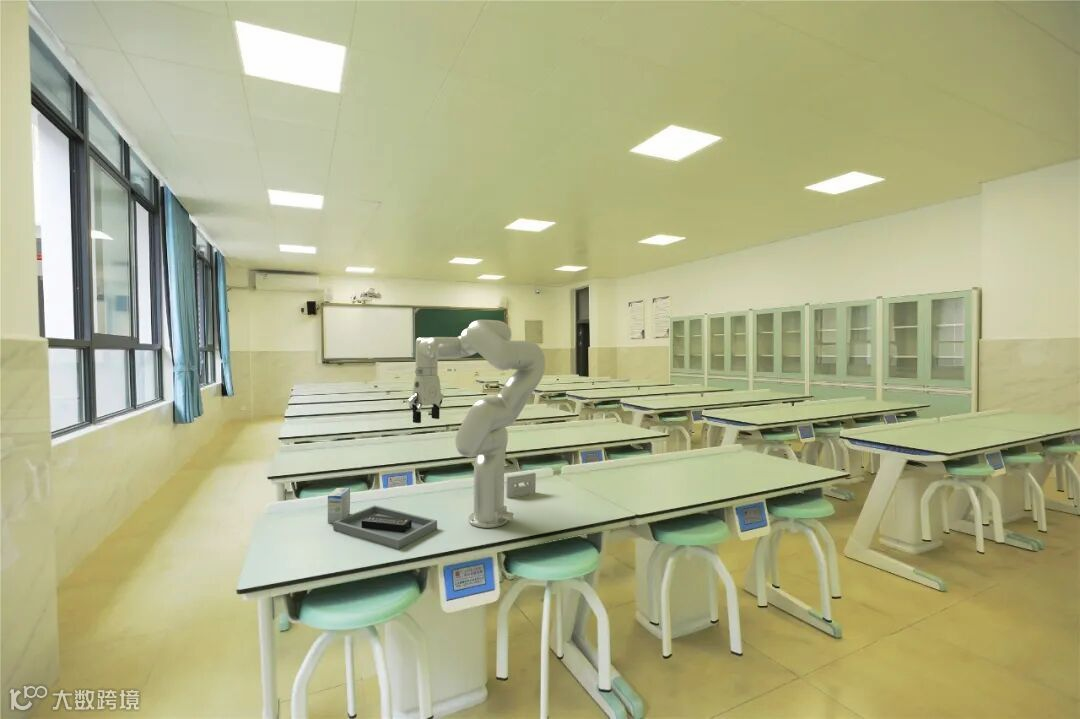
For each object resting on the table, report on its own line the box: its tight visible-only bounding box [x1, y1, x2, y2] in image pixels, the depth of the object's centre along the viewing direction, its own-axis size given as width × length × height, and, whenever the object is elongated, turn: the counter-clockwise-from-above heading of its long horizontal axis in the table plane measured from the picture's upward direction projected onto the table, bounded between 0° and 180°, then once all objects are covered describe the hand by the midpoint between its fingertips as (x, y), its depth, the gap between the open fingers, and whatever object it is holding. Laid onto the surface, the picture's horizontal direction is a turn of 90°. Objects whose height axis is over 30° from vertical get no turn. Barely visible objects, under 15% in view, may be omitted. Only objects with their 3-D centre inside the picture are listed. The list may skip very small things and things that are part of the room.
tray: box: [332, 504, 438, 551], centre depth 140 cm, size 26×16×2 cm, turn 63°
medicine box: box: [327, 487, 351, 524], centre depth 148 cm, size 8×4×9 cm, turn 5°
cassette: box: [505, 472, 537, 499], centre depth 173 cm, size 12×2×8 cm, turn 121°
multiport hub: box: [361, 515, 412, 533], centre depth 140 cm, size 4×14×2 cm, turn 77°
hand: (426, 420), depth 165 cm, fingers open, 9 cm apart
